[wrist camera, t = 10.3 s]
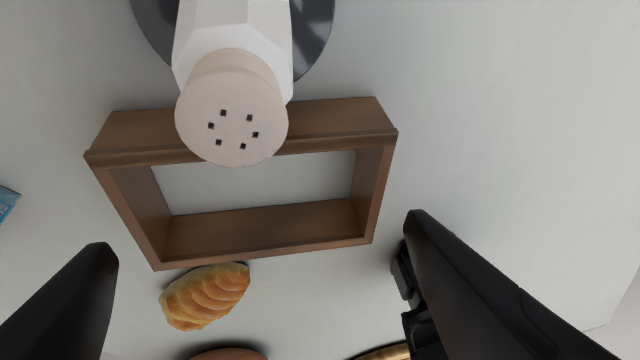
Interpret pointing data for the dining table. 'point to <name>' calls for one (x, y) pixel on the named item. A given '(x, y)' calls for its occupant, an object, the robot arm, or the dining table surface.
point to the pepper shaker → (233, 78)
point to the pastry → (204, 295)
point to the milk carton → (7, 202)
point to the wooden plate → (388, 353)
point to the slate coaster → (306, 20)
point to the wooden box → (256, 223)
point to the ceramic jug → (229, 355)
